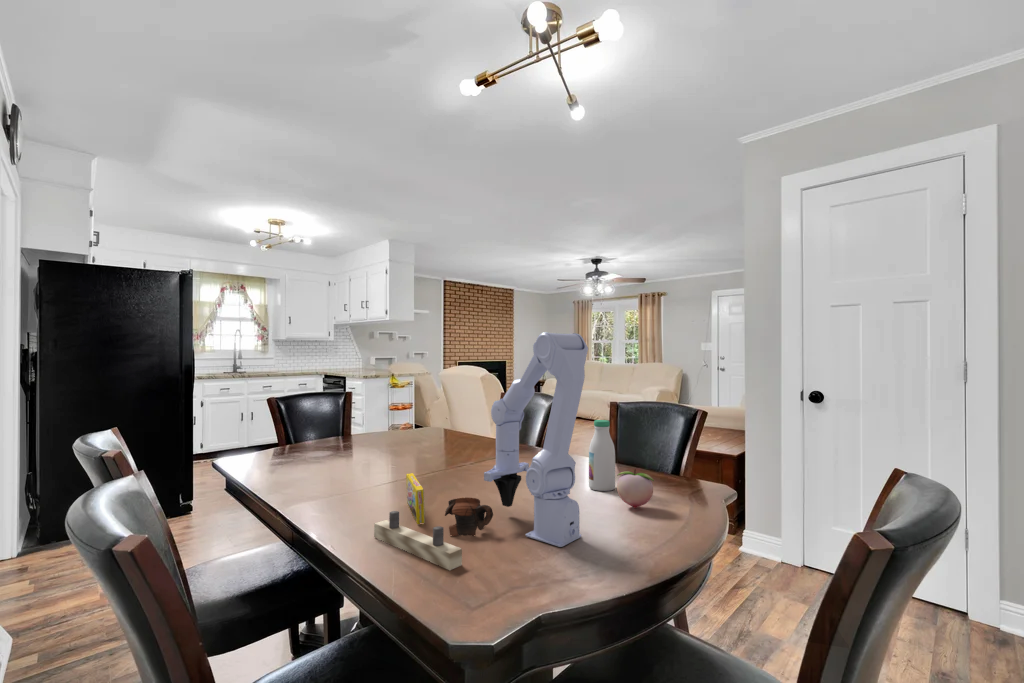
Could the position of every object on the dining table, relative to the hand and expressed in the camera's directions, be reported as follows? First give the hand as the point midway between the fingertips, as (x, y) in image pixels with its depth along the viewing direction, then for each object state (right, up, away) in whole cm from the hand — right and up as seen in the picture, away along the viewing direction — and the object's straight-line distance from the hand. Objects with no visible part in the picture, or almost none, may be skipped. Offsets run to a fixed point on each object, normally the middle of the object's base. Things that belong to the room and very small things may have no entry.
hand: (507, 505), depth 117 cm
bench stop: (-18, -2, -21) cm, 28 cm away
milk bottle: (+28, -4, +25) cm, 37 cm away
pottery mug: (-8, -2, -10) cm, 13 cm away
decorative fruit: (+33, -3, +6) cm, 34 cm away
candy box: (-23, -3, +1) cm, 23 cm away
